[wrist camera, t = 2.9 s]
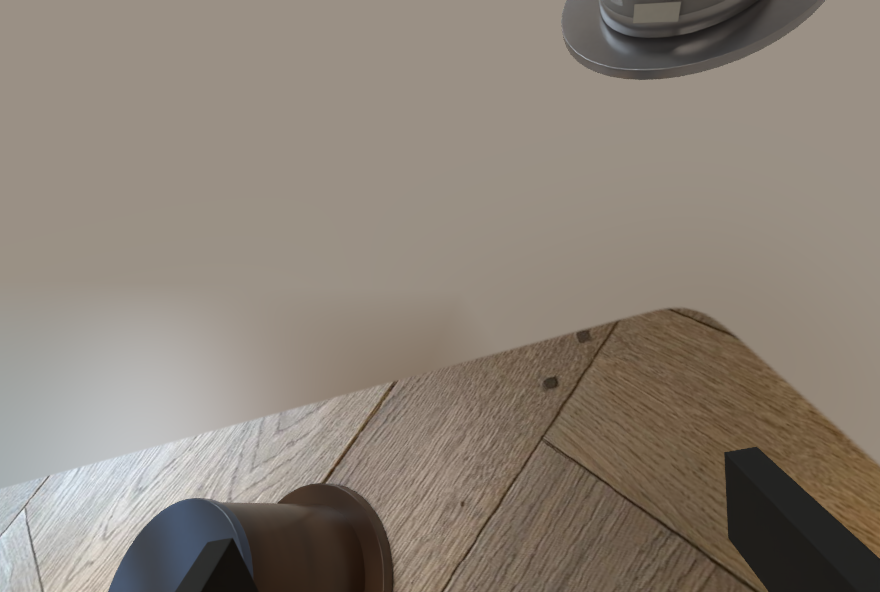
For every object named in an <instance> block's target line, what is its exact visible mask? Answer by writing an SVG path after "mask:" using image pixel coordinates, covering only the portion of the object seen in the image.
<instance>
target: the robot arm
mask: <svg viewBox="0 0 880 592" xmlns="http://www.w3.org/2000/svg"><path fill="white" fill-rule="evenodd" d="M757 1H758V0H599V2H600V12H601V15H602V18H603V19H604V21H605V22H606V24H607V25H608V26H610V27H611V28H612V29H614V30H615V31H617V32H620V33H622V34H625V35H629V36H633V37H640V38H663V37H672V36H678V35H683V34H687V33H691V32H695V31H698V30H702V29H705V28H708V27H710V26H713V25H716V24H718V23H720V22H723V21H725V20H727V19H729V18H731V17H733V16H735V15H737V14H738V13H740V12H742V11H744V10H745V9H747V8H748V7H750V6H751V5H753V4H754V3H755V2H757ZM724 454H725V475H726V496H727V517H728V538H729V539H730V541H731V542H732V543H733V545H734V546H735V547H736V549H737V550H738V551H739V553H740V554H741V555H742V557H743V558H744V559H745V561H746V562H747V563H748V565H749V566H750V567H751V569H752V570H753V571H754V573H755V574H756V575H757V577H758V578H759V579H760V581H761V582H762V583H763V585H764V586H765V587H766V589H767V590H768V591H769V592H880V559H879V558H878V557H877V556H876V555H875V554H874V553H873V552H872V551H871V550H870V549H868V548H867V547H866V546H865V545H864V544H863V543H862V542H861V541H860V540H859V539H858V538H856V537H855V536H854V535H853V534H852V533H851V532H850V531H849V530H848V529H847V528H845V527H844V526H843V525H842V524H841V523H840V522H839V521H838V520H837V519H836V518H834V517H833V516H832V515H831V514H830V513H829V512H828V511H827V510H826V509H825V508H823V507H822V506H821V505H820V504H819V503H818V502H817V501H816V500H815V499H814V498H812V497H811V496H810V495H809V494H808V493H807V492H806V491H805V490H804V489H803V488H801V487H800V486H799V485H798V484H797V483H796V482H795V481H794V480H793V479H792V478H790V477H789V476H788V475H787V474H786V473H785V472H784V471H783V470H782V469H781V468H779V467H778V466H777V465H776V464H775V463H774V462H773V461H772V460H771V459H770V458H768V457H767V456H766V455H765V454H764V453H763V452H762V451H761V450H760V449H759V448H757V447H753V448H747V449H741V450H736V451H730V452H724ZM175 592H259V591H258V589H257V587H256V585H255V582H254V580H253V578H252V576H251V574H250V572H249V570H248V568H247V566H246V564H245V562H244V560H243V558H242V556H241V553H240V551H239V549H238V547H237V545H236V543H235V541H234V539H233V538H228V539H222V540H216V541H210V542H207V543H206V545H205V546H204V548H203V549H202V551H201V552H200V554H199V555H198V557H197V559H196V560H195V562H194V563H193V565H192V566H191V568H190V569H189V571H188V572H187V574H186V575H185V577H184V578H183V580H182V581H181V583H180V585H179V586H178V588H177V589H176V591H175Z"/></svg>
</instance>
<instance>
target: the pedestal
mask: <svg viewBox="0 0 880 592" xmlns="http://www.w3.org/2000/svg"><path fill="white" fill-rule="evenodd" d="M228 538H233V539H234V541H235V543H236V545H237V547H238V549H239V551H240V553H241V556H242V558H243V560H244V562H245V564H246V566H247V568H248V570H249V572H250V574H251V576H252V578H253V580H254V582H255V585H256V587H257V589H258V591H259V592H392V586H393V570H392V559H391V553H390V548H389V543H388V540H387V537H386V533H385V531H384V528H383V526H382V524H381V521H380V520H379V518H378V516H377V514H376V513H375V511H374V510H373V508H372V507H371V506H370V505H369V503H368V502H367V501H366V500H365V499H364V498H363V497H362V496H360V495H359V494H357V493H356V492H355V491H353V490H351V489H349V488H347V487H344V486H340V485H335V484H323V483H318V484H310V485H307V486H303V487H301V488H299V489H296V490H294V491H293V492H291V493H289V494H288V495H286V496H285V497H284V498H283V499H281V500H280V501H279V502H278V503H277V504H275V503H221V502H218V501H215V500H212V499H205V498H192V499H186V500H182V501H179V502H177V503H175V504H173V505H171V506H169V507H167V508H166V509H164V510H163V511H161V512H160V513H159V514H158V515H156V516H155V517H154V518H153V519H152V520H151V521H150V522H149V523H148V524H147V525H146V526H145V527H144V528H143V530H142V531H141V532H140V533H139V535H138V536H137V537H136V539H135V540H134V541H133V543H132V544H131V546H130V547H129V549H128V551H127V552H126V554H125V556H124V557H123V559H122V561H121V563H120V565H119V567H118V569H117V571H116V573H115V576H114V578H113V581H112V583H111V585H110V588H109V591H108V592H175V591H176V589H177V588H178V586H179V585H180V583H181V581H182V580H183V578H184V577H185V575H186V574H187V572H188V571H189V569H190V568H191V566H192V565H193V563H194V562H195V560H196V559H197V557H198V555H199V554H200V552H201V551H202V549H203V548H204V546H205V545H206V543H207V542H210V541H216V540H222V539H228Z"/></svg>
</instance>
